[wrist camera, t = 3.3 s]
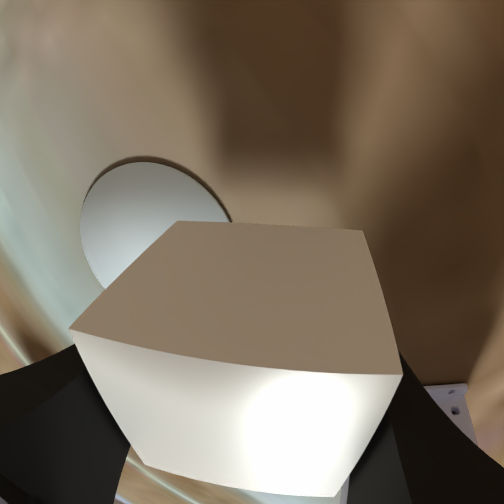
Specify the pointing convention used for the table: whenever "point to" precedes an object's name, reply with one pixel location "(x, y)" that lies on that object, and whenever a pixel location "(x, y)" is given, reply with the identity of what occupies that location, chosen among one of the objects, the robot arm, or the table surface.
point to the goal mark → (138, 213)
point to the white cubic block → (246, 354)
